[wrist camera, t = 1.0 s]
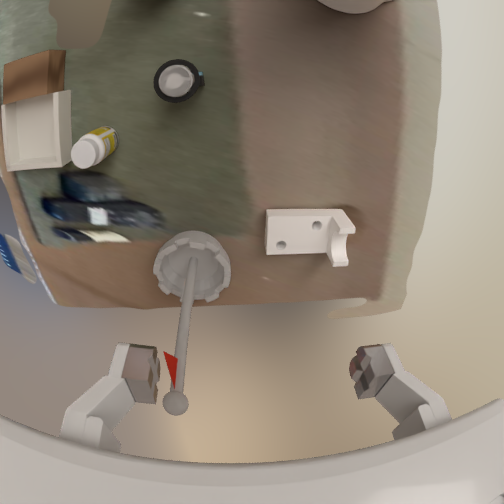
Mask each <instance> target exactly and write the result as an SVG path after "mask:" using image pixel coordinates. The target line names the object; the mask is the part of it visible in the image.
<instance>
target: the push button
mask: <svg viewBox="0 0 504 504" xmlns="http://www.w3.org/2000/svg"><path fill="white" fill-rule="evenodd" d="M182 65H185V66H187V67H188V68H189V69H190V70H191V71H189V69H188V68H186V67H184V66H182ZM199 86H204V79H203V72H198V70H197V69H196V67H195V66H194V65H193V64H192V63H190V62H188V61H186V60H181V59H176V60H171V61H168V62H166V63H165V64H163V65H162V66H161V67H160V68H159V69H158V70H157V72H156V74H155V77H154V88H155V91H156V93H157V94H158V96H159V97H160V98H162V99H163V100H165V101H168V102H172V103H177V102H182V101H185V100H187V99H189V98H190V97H191V96H192V95H193V94H194V93H195V92H196V90H197V89H198V87H199ZM189 90H190V91H189ZM188 91H189V92H188ZM187 92H188V93H187ZM185 93H187V94H186V95H184V94H185ZM182 95H184V96H182ZM179 96H182V97H179Z"/></svg>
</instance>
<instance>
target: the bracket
mask: <svg viewBox="0 0 504 504" xmlns="http://www.w3.org/2000/svg"><path fill="white" fill-rule="evenodd" d="M315 221H316V222H315ZM314 222H315V223H314ZM355 229H356V228H355V226H354V225H353V224H352V222H351V221H350V219H349V218H348V217H347V215H346V214H345V213H344V211H343V210H342V209H266V227H265V249H266V254H267V255H276V254H306V253H327V255H328V257H329V259H330V261H331V264H332V266H333V267H335V266H348V262H349V261H348V259H347V255H346V239H347V235H348V234H351V233H355Z"/></svg>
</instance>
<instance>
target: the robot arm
mask: <svg viewBox="0 0 504 504" xmlns="http://www.w3.org/2000/svg"><path fill="white" fill-rule="evenodd" d="M318 1H319V2H321V3H323V4H324V5H326V6H328V7H330V8H332V9H335V10H338V11H341V12H345V13H353V14H358V13H366V12H369V11H371V10H373V9H375V8H377V7H378V6H379V5H380V4H382V3H383V2H386V1H392V0H318ZM356 353H357V355H356V356H355V357H354V358H353V359H352V360H351V362H350V367H349V371H350V376H351V378H352V379H353V380H354V381H355V382H356V383H355V386H354V388H355V391H356V394H357V397H358V399H364V398H371V397H375V398H376V400H377V401H378V402H379V403H380V404H381V405H382V406H383V407H384V408H385V409H386V410H387V411H388V412H389V413H390V414H391V415H392V416H393V417H394V418H395V419H396V420H397V421H398V422H399V423H400V425H398V426H397V427H396V428H395V429H394V430H393V432H392V433H393V437H394V440H393V441H390V442H386V443H383V444H379V445H375V446H371V447H367V448H363V449H358V450H354V451H349V452H344V453H338V454H333V455H327V456H321V457H314V458H307V459H299V460H289V461H277V462H263V463H198V462H182V461H172V460H162V459H154V458H147V457H140V456H134V455H128V454H123V453H120V447H121V443H120V442H119V441H118V439H117V438H116V437H115V436H114V435H113V433H112V430H113V429H114V428H115V427H116V426H117V425H118V423H119V422H120V421H121V420H122V419H123V418H124V416H125V415H126V414H127V413H128V412H129V410H130V409H131V408H132V407H133V406H134V405H135V402H139V403H149V404H156V398H157V392H158V389H157V386H156V383H157V382H158V381H159V378H160V361H159V358H157V348H156V347H154V346H145V345H137V344H130V343H121V342H119V343H118V344H117V345H116V349H115V352H114V356H113V359H112V362H111V366H110V369H109V373H108V376H103V377H102V378H101V379H100V380H99V381H98V382H96V383H95V384H94V385H93V386H92V387H91V388H90V389H89V390H87V391H86V392H85V393H84V394H83V395H82V396H81V397H80V398H78V399H77V400H76V401H75V402H74V403H73V404H71V405H70V406H69V407H68V408H67V409H66V412H65V416H64V419H63V423H62V427H61V431H60V435H59V437H56V436H53V435H50V434H47V433H44V432H41V431H38V430H36V429H33V428H31V427H28V426H26V425H23V424H21V423H18V422H15V421H13V420H11V419H9V418H7V417H4V416H2V415H0V504H504V400H503V399H496V400H493V401H491V402H490V403H488V404H486V405H484V406H482V407H480V408H477V409H476V410H473V411H471V412H469V413H467V414H465V415H462V416H460V417H458V418H455V419H453V420H452V418H451V416H450V413H449V411H448V409H447V407H446V404H445V402H444V400H443V398H442V397H441V396H439V395H438V394H437V393H435V392H434V391H433V390H431V389H430V388H429V387H428V386H426V385H425V384H424V383H422V382H421V381H420V380H419V379H417V378H416V377H415V376H413V375H412V374H411V373H409V372H408V371H407V372H405V370H404V368H403V366H402V364H401V361H400V359H399V357H398V355H397V353H396V351H395V349H394V347H393V345H392V344H390V343H389V344H381V345H380V344H377V345H369V346H361V347H359V348H358V349H357V351H356Z"/></svg>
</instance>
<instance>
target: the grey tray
mask: <svg viewBox="0 0 504 504" xmlns="http://www.w3.org/2000/svg"><path fill="white" fill-rule="evenodd" d="M1 110H2V130H3V141H4V151H5V159H6V166H7V171H16V170H27V169H39V168H54V167H63V166H64V165H66V164H67V163H69V162H70V161H72V158H71V150H72V131H71V90H65V91H60V92H55V93H50V94H45V95H41V96H36V97H32V98H27V99H23V100H19V101H15V102H12V103H8V104H5V105H1Z"/></svg>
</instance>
